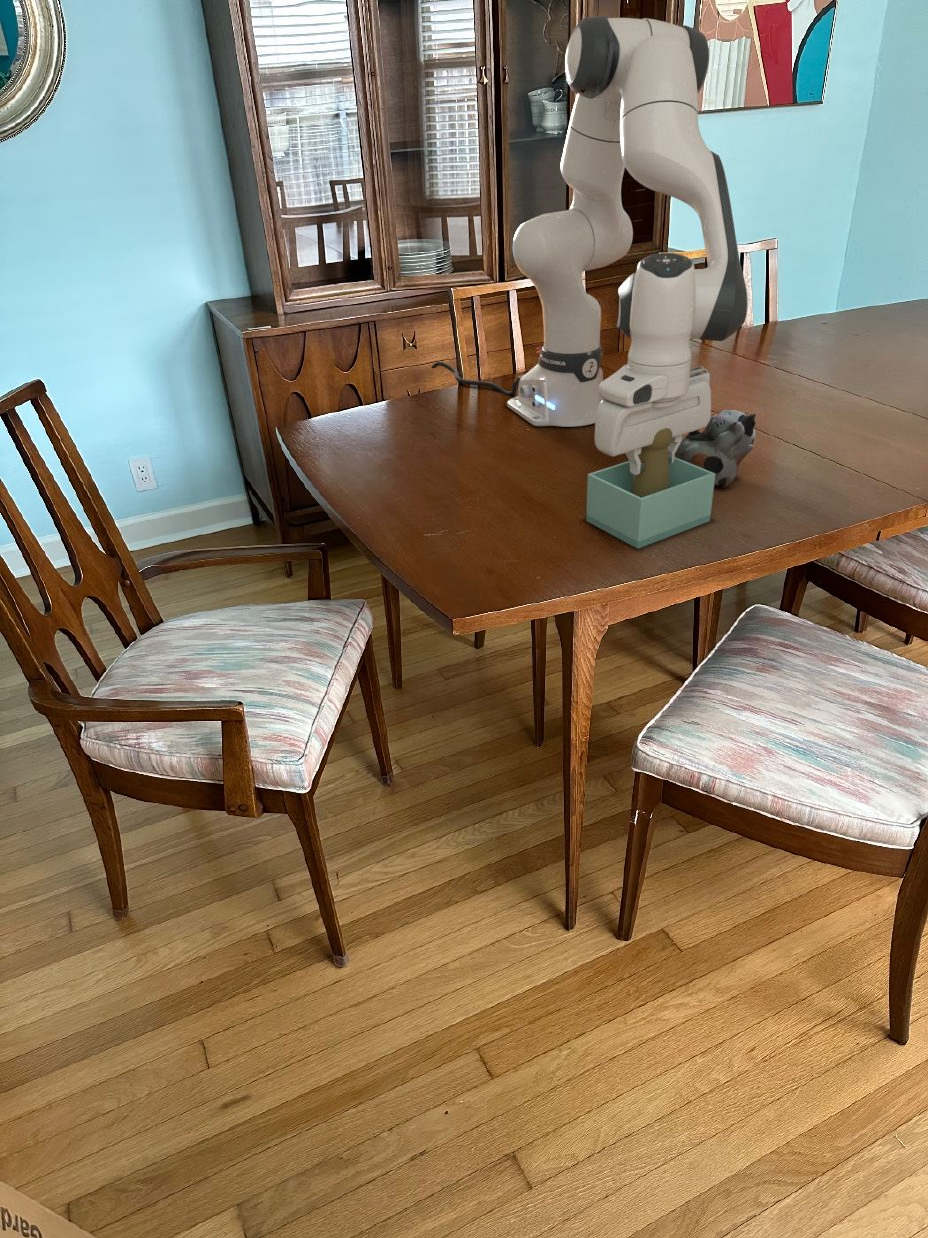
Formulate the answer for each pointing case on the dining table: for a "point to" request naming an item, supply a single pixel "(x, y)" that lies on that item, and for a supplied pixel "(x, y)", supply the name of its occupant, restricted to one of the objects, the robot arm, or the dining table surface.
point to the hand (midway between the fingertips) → (651, 468)
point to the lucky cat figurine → (720, 445)
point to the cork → (654, 466)
